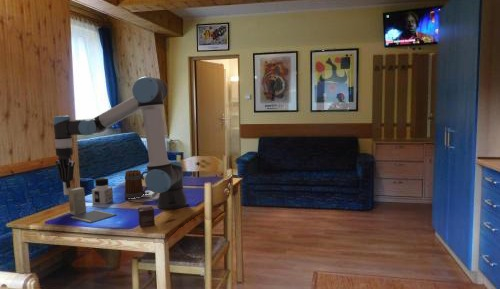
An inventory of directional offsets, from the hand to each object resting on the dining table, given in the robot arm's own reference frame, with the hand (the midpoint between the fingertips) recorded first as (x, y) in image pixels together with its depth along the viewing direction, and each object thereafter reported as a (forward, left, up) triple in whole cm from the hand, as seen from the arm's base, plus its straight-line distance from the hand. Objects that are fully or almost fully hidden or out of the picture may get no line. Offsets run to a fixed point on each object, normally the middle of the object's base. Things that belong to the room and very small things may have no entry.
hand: (67, 194), depth 191 cm
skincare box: (-8, 0, -9) cm, 12 cm away
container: (0, -20, -9) cm, 22 cm away
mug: (-9, -37, -9) cm, 39 cm away
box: (-52, -4, -9) cm, 53 cm away
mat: (-20, 0, -8) cm, 22 cm away
